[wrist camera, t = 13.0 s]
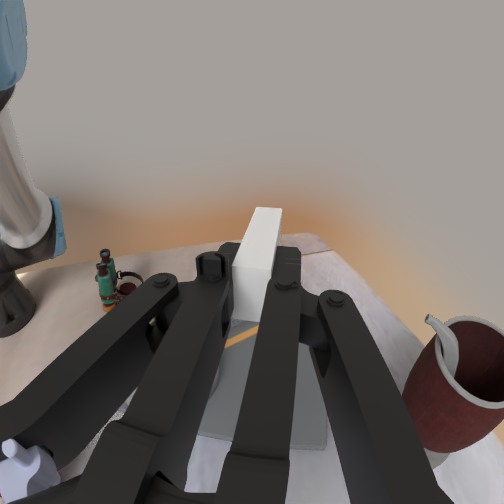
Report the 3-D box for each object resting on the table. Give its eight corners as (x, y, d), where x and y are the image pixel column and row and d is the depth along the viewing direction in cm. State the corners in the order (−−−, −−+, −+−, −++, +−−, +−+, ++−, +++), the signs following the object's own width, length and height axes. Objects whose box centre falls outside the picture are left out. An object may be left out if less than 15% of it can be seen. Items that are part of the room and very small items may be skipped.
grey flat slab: (100, 403, 32) (88, 386, 30) (163, 298, 55) (159, 280, 52) (323, 449, 28) (331, 436, 26) (323, 317, 50) (327, 298, 48)
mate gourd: (459, 406, 30) (529, 307, 20) (449, 484, 19) (555, 398, 9) (376, 385, 36) (427, 276, 27) (349, 464, 26) (424, 371, 16)
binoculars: (140, 266, 47) (87, 269, 44) (146, 313, 52) (97, 315, 48) (142, 243, 54) (95, 246, 51) (145, 287, 59) (102, 289, 56)
